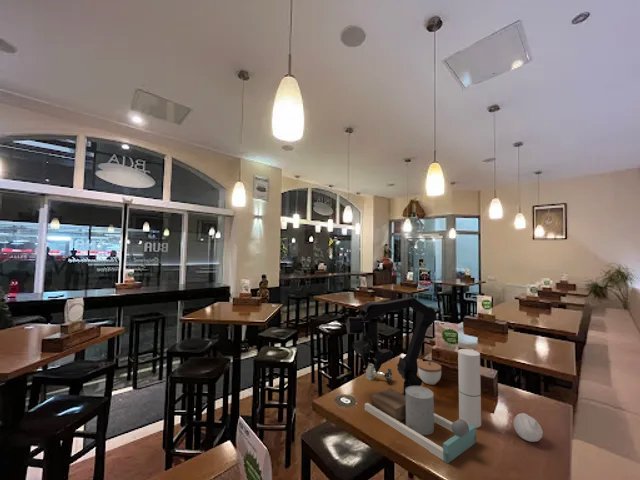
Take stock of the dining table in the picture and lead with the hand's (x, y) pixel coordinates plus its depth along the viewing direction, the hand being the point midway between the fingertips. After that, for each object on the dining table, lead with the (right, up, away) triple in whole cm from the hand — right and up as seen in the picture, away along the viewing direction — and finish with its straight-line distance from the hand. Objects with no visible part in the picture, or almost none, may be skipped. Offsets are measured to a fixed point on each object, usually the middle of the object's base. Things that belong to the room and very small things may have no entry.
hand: (371, 370), depth 121 cm
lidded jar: (+31, -13, +16) cm, 37 cm away
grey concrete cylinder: (+14, -11, -20) cm, 26 cm away
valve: (+6, -13, +18) cm, 23 cm away
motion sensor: (+47, -11, -26) cm, 55 cm away
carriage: (+7, -11, -10) cm, 16 cm away
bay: (+13, -11, -19) cm, 26 cm away
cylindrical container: (+33, -12, -16) cm, 39 cm away
